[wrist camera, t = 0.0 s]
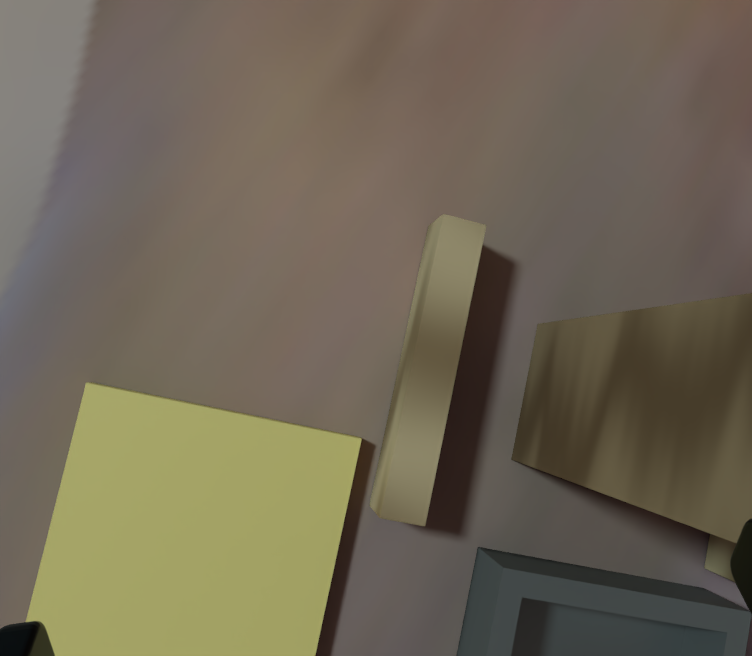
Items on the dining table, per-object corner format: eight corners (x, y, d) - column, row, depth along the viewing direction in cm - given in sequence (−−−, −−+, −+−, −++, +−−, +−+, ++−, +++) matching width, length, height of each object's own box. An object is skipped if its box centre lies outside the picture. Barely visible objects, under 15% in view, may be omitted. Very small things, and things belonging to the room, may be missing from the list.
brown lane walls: (739, 574, 26) (779, 592, 24) (369, 505, 23) (379, 518, 21) (781, 317, 27) (822, 313, 25) (428, 226, 24) (443, 213, 22)
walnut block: (637, 485, 25) (998, 600, 13) (511, 459, 24) (770, 556, 12) (660, 353, 26) (1031, 343, 13) (537, 324, 25) (812, 284, 13)
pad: (301, 703, 23) (302, 712, 22) (19, 664, 21) (12, 673, 21) (358, 437, 24) (362, 438, 23) (90, 382, 22) (86, 382, 21)
